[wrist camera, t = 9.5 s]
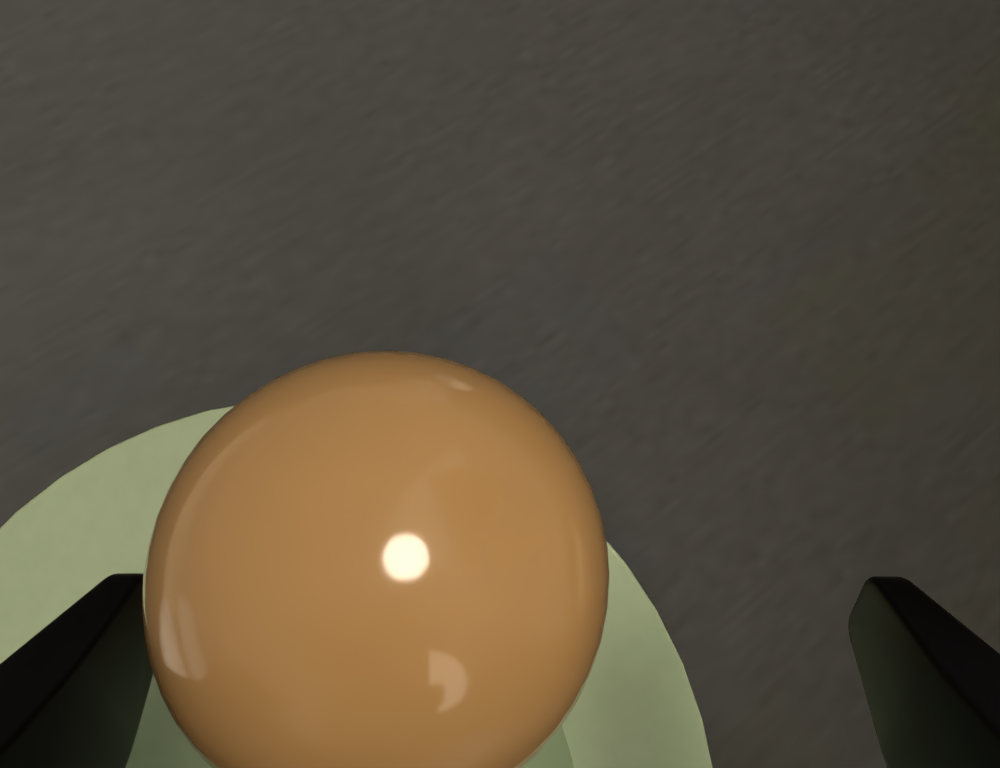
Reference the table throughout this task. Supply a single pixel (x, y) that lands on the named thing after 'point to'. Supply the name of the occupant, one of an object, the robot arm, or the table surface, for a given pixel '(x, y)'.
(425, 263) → the table surface
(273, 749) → the green disc with post
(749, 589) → the table surface
